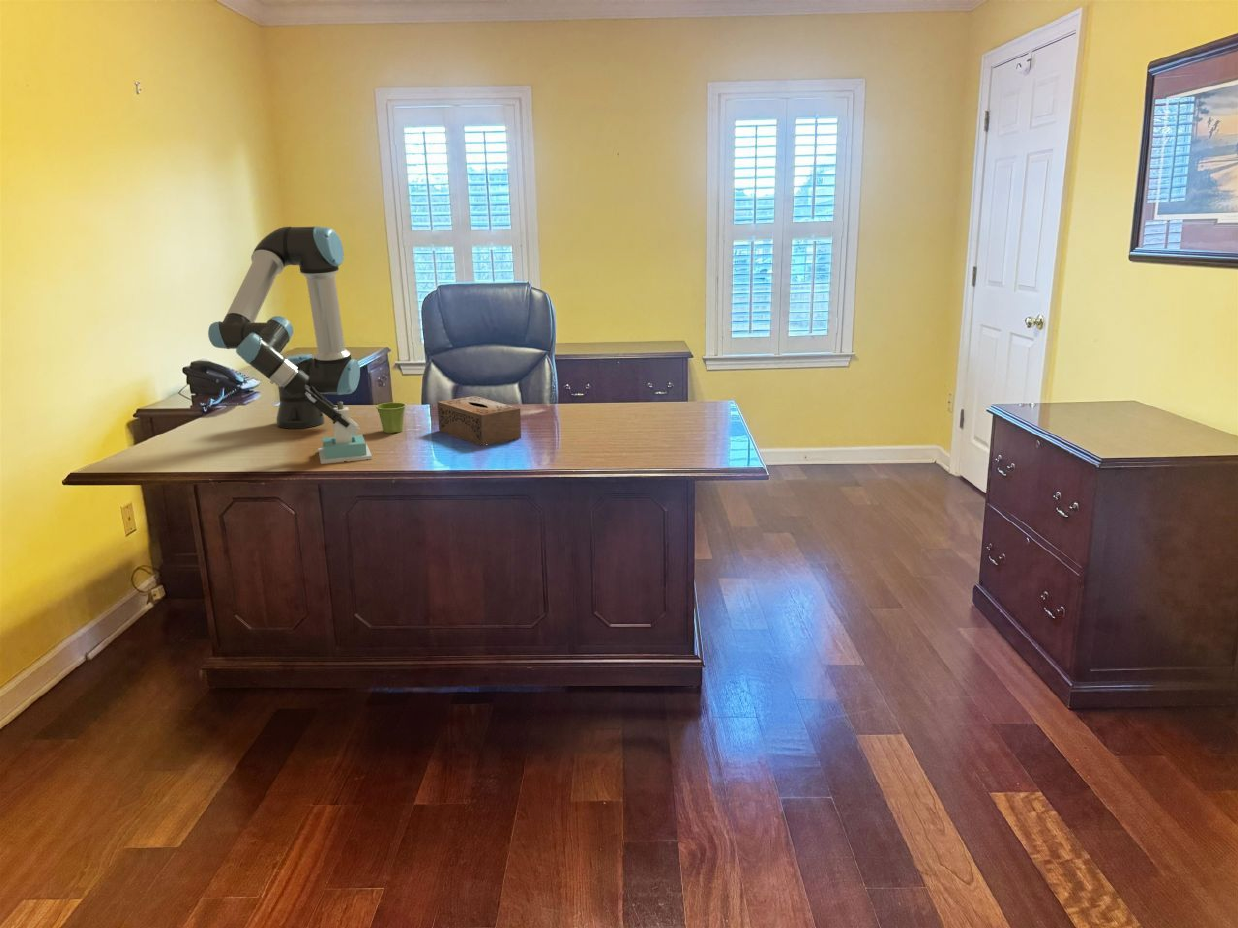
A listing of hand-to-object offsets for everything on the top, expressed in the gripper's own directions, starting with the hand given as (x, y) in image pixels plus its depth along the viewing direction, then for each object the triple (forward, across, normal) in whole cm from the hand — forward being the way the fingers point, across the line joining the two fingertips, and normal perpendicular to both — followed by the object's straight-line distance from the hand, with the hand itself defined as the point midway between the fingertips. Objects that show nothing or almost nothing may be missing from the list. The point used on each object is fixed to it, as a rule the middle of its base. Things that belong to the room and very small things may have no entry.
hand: (356, 430), depth 243 cm
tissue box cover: (+33, -11, +22) cm, 41 cm away
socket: (+2, 0, -8) cm, 8 cm away
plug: (0, 0, -6) cm, 6 cm away
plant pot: (+15, -25, +4) cm, 29 cm away
